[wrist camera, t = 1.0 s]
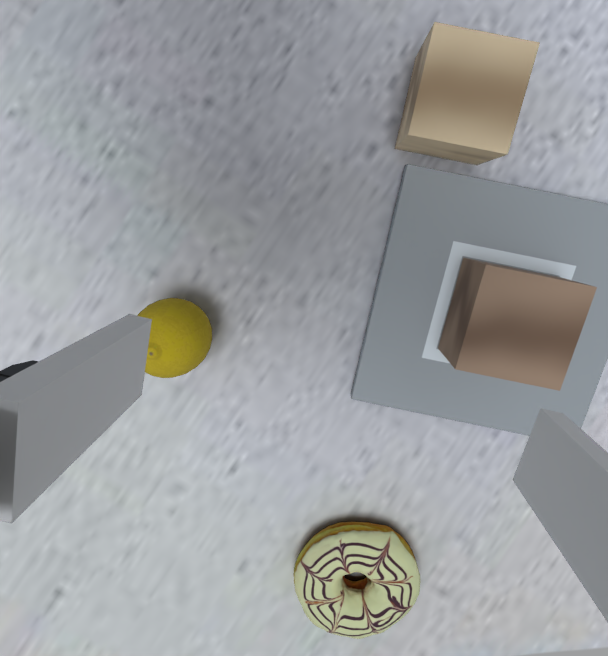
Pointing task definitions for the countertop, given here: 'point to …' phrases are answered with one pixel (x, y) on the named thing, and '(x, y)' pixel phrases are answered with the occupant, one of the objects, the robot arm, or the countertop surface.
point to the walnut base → (514, 323)
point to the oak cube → (465, 94)
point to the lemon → (176, 337)
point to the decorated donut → (356, 596)
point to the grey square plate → (439, 283)
